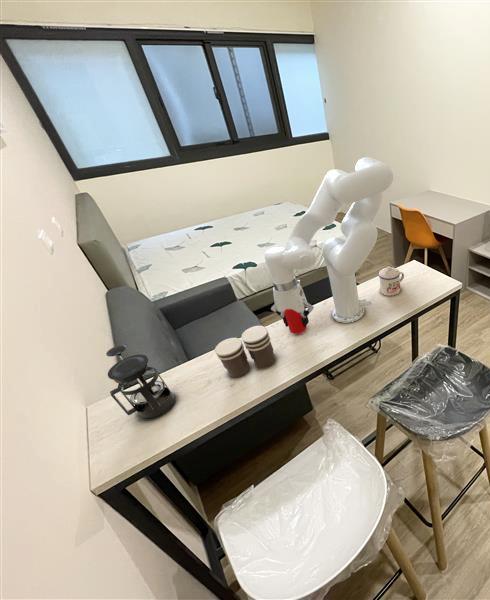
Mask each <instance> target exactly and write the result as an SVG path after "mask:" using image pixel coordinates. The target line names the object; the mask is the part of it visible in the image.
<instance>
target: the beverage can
mask: <svg viewBox="0 0 490 600" xmlns="http://www.w3.org/2000/svg"><path fill="white" fill-rule="evenodd" d="M284 314H285V317H286V320H287V323H288V329H289V332H290V333H291V334H292V335H300V334H301V335H302V334H303V333H305V332H306V331H307V328H308V324H307V325H306V327H304V326H303V322H302V316H301V315H300V313H299V312H296V311H295V310H293V309H286V310H285V311H284Z"/></svg>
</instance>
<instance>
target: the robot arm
mask: <svg viewBox="0 0 490 600" xmlns="http://www.w3.org/2000/svg"><path fill="white" fill-rule="evenodd" d="M393 180H394V173H393V170H392V168H391V167H390V165H388V164H387V163H385V162H383V161H380V160H377V159H375V158H373V157H361V158H360V159H358V161H357V163H356V164H355V167H354V171H353V172H346V171H344V170H342V169H336V168H335V169H331V170H329V171H328V172H327V173H326V175H325V176H324V178H323V180H322V182H321V184H320V186H319V188H318V190H317V192H316V194H315V196H314V198H313V200H312V202H311V204H310V206H309V207H308V209H307V211H306V212H305V213H303V215H302V216H301V217H300V218H299V219H298V220H297V221H296V223H295V224H294V226H293V228H292V230H291V232H290V234H289V235H288V238H287V241H286V244H285V247H280V246H276V247H272V248H269V249H267V250H266V251H265V253H264V260H265V264H266V266H267V270H268V273H269V276H270V279H271V282H272V285H273V287H272V295H273V301H274V304H273V305H271V308H270V310H271V311H272V312H274V313H276V315H278V316H279V317H280V318H281V319H282V321H283V324H284V326H285V327H286V328H289V326H288V323H287V320H286V317H285V314H284V311H285V310H286V309H293V310H295V311H296V312H299V313H300V315H301V316H302V322H303V326H304V327H306V325H307V326H308V324H309V322H310V321H309V317H308V316H309V315H310V314H311V312H312V311H314V309H315V307H314V306H313V304H310V303H309V302H308V300H307V297H306V295H305V292H304V289H303V287H302V286H301V280H300V279H297V276H296V274H295V270H306V269H309V268H311V267H313V266H314V265H315V263H316V260H317V256H316V253H315V251H314V250H313V249H312V248H311V246H310V244H311V242H312V239H313V237H314V236H315V235H316V233H317V232H318V231H319V230H320V229H322V228H324V227H327V226H330V225H332V224H333V223H334V222H335V219H336V218H337V216H338V214H339V212H340V210H341V209H342V206H343V204H346V205H349V204H351V206H350V207H349V209H348V211H347V213H346V214H345V216H344V217H343V219H342V221H341V223H340V231H341V233H342V235H343V236H344V237H345V238H346V240H345V239H343V238H341V237H331V238H329V239H327V240H326V241H325V243H324V244H323V247H322V256H323V261H324V264H325V267H326V271H327V274H328V278H329V284H330V289H331V294H332V298H333V299H332V300H333V304H334V307H333V310H332V311H331V312H332V318H333V320H335V321H336V322H339V323H343V324H345V323H346V324H349V323H353V322H356V321H358V320H359V319H361V318H362V317H363V316H364V314H365V307H368V306H372V301H371V300H370V299H369V300H367V299H366V298H362V299H359V298H360V297H359V292H358V286H357V278H356V273H357V272H358V271H359V270H360V269H361V268H362V266H363V264H364V263H365V261H366V260H367V258H368V256H369V255H370V253H371V252H372V251H373V249H374V247H375V245H376V243H377V240H378V235H379V234H378V233H379V232H378V228H377V226H376V224H375V223H374V222H373V221H374V219H375V217H376V215H377V214H378V211H379V210H380V207H381V205H382V200H383V192H384V191H386V190H387V189H389V188H390V186H391V185H392V184H393ZM306 308H307V309H306Z"/></svg>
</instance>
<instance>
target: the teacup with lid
mask: <svg viewBox="0 0 490 600" xmlns="http://www.w3.org/2000/svg"><path fill="white" fill-rule="evenodd" d="M400 275H401V277H400ZM378 277H379V286H380V287H379V289H380V293H381V294H382V295H383V296H389V297H391V296H392V297H393V296H396V295H397V294H399V293H400V292H401V283H402V282H403V281H404V278H405V273H404V272H403V271H400V270H399V269H398V268H396V267H391V266H386V267H385V268H382V269H380V270H379V271H378Z"/></svg>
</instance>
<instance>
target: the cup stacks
mask: <svg viewBox="0 0 490 600" xmlns="http://www.w3.org/2000/svg"><path fill="white" fill-rule="evenodd" d="M271 340H272V339H271V336H270V333H269V331H268V328H267V327H266V326H264V325H253V326H251V327H249V328H247V329H246V330H244V331H243V333H242V334H241V339H240V338H239V337H231V338H230V337H229V338H225V339H223V340H222V341H220V342H219V343H218V344H216V346H215V347H214V353H215V354H216V356H217V358H218V359H219V360H220V361H221V364H222V365H223V368H224V369H226V371H227V373H228V374H229V376H230V377H231V378H233V379H235V378H241V377H244V376H245V375H246V374H248V373H249V372H250V369H251V365H250V363H249V361H248V356H247V353H246V350H247V351H248V354H249V356H250V358H251V359H252V360H253V362H254V365H255V366H256V368H258V369H267V368H270V367H271V366H272V365H274V363H275V362H276V356H275V353H274V347H273V345H272V342H271ZM245 349H246V350H245Z"/></svg>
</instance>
